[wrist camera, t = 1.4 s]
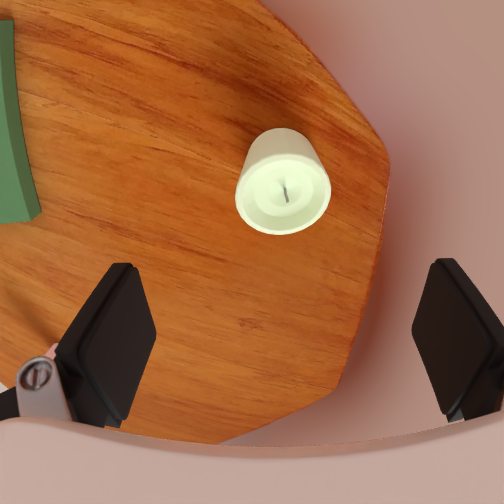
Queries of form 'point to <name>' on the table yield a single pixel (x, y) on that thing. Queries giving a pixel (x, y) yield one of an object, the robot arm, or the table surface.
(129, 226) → the table surface
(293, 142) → the candle
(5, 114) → the foam
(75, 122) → the table surface
